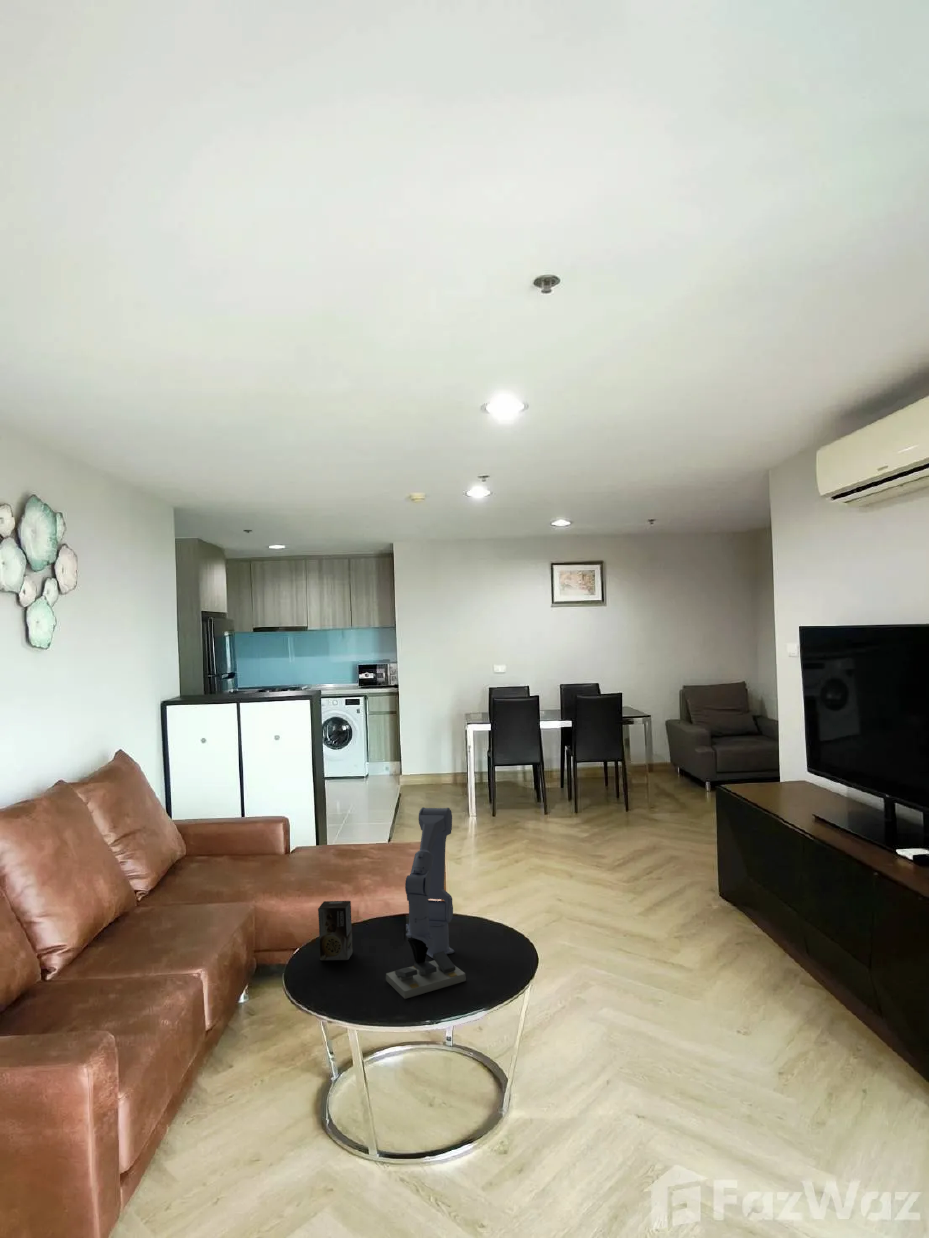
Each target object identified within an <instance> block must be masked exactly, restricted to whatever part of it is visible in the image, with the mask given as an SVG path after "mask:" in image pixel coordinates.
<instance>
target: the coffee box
mask: <svg viewBox="0 0 929 1238" xmlns="http://www.w3.org/2000/svg"><path fill="white" fill-rule="evenodd" d="M351 903H352V902H351V900H327V901H323V902H322V903H321V904H320V906H319V907H318V908H317V911H318V912H317V916H318V935H319V938H318V939H319V961H348V960H349V959H350V957H352V955H353V953H354V952H353V951H354V950H353V930H352V928H353V927H352V904H351Z"/></svg>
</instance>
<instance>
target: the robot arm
mask: <svg viewBox="0 0 929 1238" xmlns="http://www.w3.org/2000/svg"><path fill="white" fill-rule="evenodd" d="M452 813H453V812H452V809H450V808H449V807H436V808H435V807H421V808H420V810H419V812H418V824H419V827H420V830H421V837H420V838H421V839H420V846H419V850H417V852H415V854H414V858H413V862H412V866H411V869H410V874H409V875H407V876H406V878H405V882H404V889H405V890H404V891H405V894H406V901H407V902H408V923H406V924H405V931H406V933H405V937H407V942H408V944H409V945H410V947H411V950H412V954H413V958H414V963H415V962H416V963H417V964H419V963H422V962H425V960H426V959H427V958H426V957H427V956H428V957H430V958H431V959H433V954H435V953H439V952H442V951H444V952H445V954H446V955H448V954H453V953H455V950H454V949H453V948H452V947H450V939H449V938H450V937H449V936H450V935H449V923H451V921H452V919H453V915H454V905H453V897H452V895H451V894H450V893H448V892H447V891H446V890H445V873H446V872H445V870H446V868H445V867H446V847H447V846H446V842H447V836H450V835H451V834H452V829H453V814H452Z"/></svg>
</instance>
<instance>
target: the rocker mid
mask: <svg viewBox="0 0 929 1238" xmlns="http://www.w3.org/2000/svg"><path fill="white" fill-rule="evenodd" d="M429 962H430V961H427V960H426V959H425V962H422V963H419V964H417V963H416V962H415V961H414V962H413V966H414V967H415V968H416V969H418V970H419V971H421V972H422V973H424V974H425V975H426V974H430V973H433V972H437V969H436V967H435V966H434V965H432V964H431V963H429Z"/></svg>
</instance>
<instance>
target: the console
mask: <svg viewBox="0 0 929 1238" xmlns="http://www.w3.org/2000/svg"><path fill="white" fill-rule="evenodd" d="M428 962H429V963H431V964H432V965H434V966H435V967H436V969H437V972H433V973H430V974H426V975H425V974H424V973H422V972H421V971H419V970H418V969H416V968H415V967H414V965H412V966H409V967H407V968H411V969H415V970H417V975H414V976H410V977H406V978H405V977H401V976H397V975H396V974H395V970H394V971H390V972H386V973H385V981H386V982H387V983H388V984H389V985H390V986H391V987H392V988H393V989H394V990H395V991H396V992H397V993H398V994H399V995H400V996H401V997H402V998H403V999H404V1000H406V999H409V998H413V997H416V996H419V995H422V994H425V993H429V992H432V991H433V992H434V991H436V990H440V989H443V988H447V987H450V986H453V985H456V984H460V983H463V982H466V981H467V980H466V975H467V974H466V972H464V971H463V970H462V969H460V968H459V967H457V966H456V965H455V964H454V966H455V971H452V972H448V973H445V974H444V972H443V971H442V970H441V968H440V967H439V966H438V964H437V963H436V962H435V960H434V959H433V960H431V961H428Z"/></svg>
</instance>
